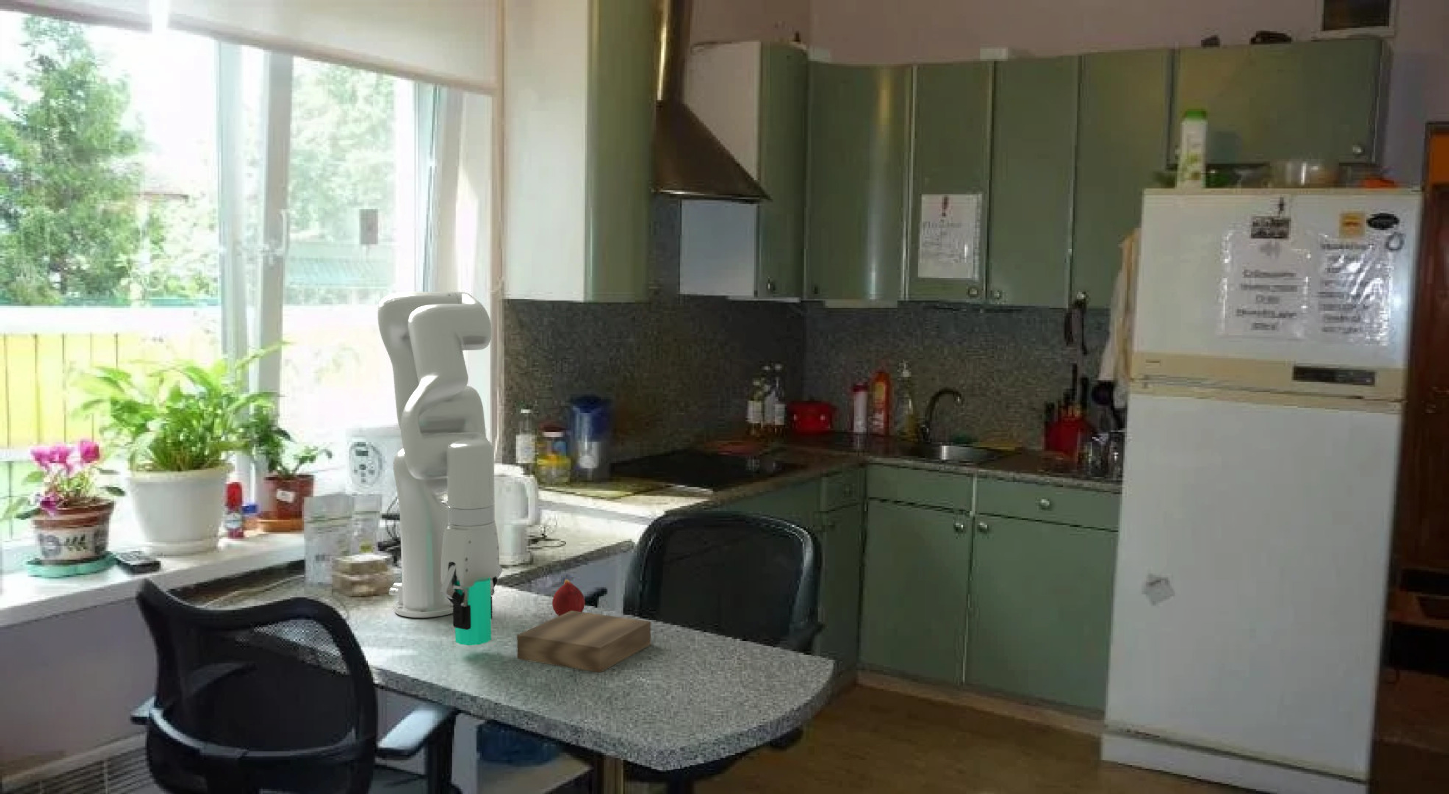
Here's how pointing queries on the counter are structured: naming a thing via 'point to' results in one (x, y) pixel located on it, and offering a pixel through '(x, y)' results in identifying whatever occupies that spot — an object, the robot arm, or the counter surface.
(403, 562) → the robot arm
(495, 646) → the counter surface
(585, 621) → the walnut base
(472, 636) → the candle
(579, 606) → the onion
